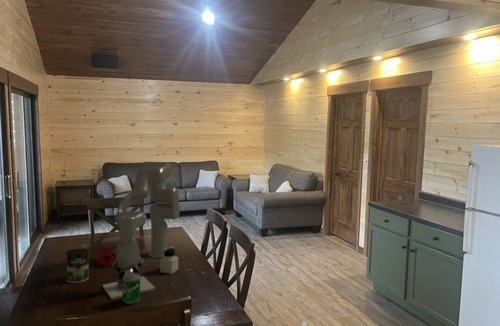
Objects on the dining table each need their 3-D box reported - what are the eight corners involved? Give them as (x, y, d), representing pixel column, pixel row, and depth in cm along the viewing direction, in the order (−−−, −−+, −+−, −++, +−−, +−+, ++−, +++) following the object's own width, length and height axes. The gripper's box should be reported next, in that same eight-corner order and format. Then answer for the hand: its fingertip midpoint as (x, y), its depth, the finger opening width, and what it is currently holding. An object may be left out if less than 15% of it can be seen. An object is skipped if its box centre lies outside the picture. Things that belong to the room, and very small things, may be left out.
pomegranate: (92, 265, 215) (91, 249, 214) (106, 260, 224) (106, 244, 223) (105, 268, 210) (104, 251, 209) (119, 262, 219) (118, 246, 218)
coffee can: (90, 281, 194) (89, 253, 192) (67, 284, 189) (66, 256, 187) (88, 273, 203) (87, 247, 201) (66, 277, 198) (65, 249, 197)
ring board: (143, 278, 198) (143, 271, 198) (154, 289, 185) (154, 282, 185) (102, 286, 187) (102, 279, 187) (111, 299, 174) (111, 291, 174)
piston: (132, 282, 190) (131, 264, 189) (135, 286, 185) (134, 268, 184) (121, 285, 187) (120, 267, 186) (124, 289, 183) (123, 270, 182)
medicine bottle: (178, 269, 211) (178, 247, 210) (171, 274, 205) (171, 251, 203) (166, 267, 214) (166, 246, 212) (159, 272, 207) (159, 250, 206)
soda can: (124, 297, 176) (124, 271, 175) (141, 297, 177) (141, 271, 176) (120, 305, 169) (120, 278, 168) (138, 304, 169) (138, 278, 168)
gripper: (143, 236, 192) (143, 272, 194) (107, 242, 182) (107, 279, 184) (148, 240, 186) (148, 277, 187) (111, 246, 176) (112, 285, 178)
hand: (128, 278), depth 186 cm, fingers open, 5 cm apart
